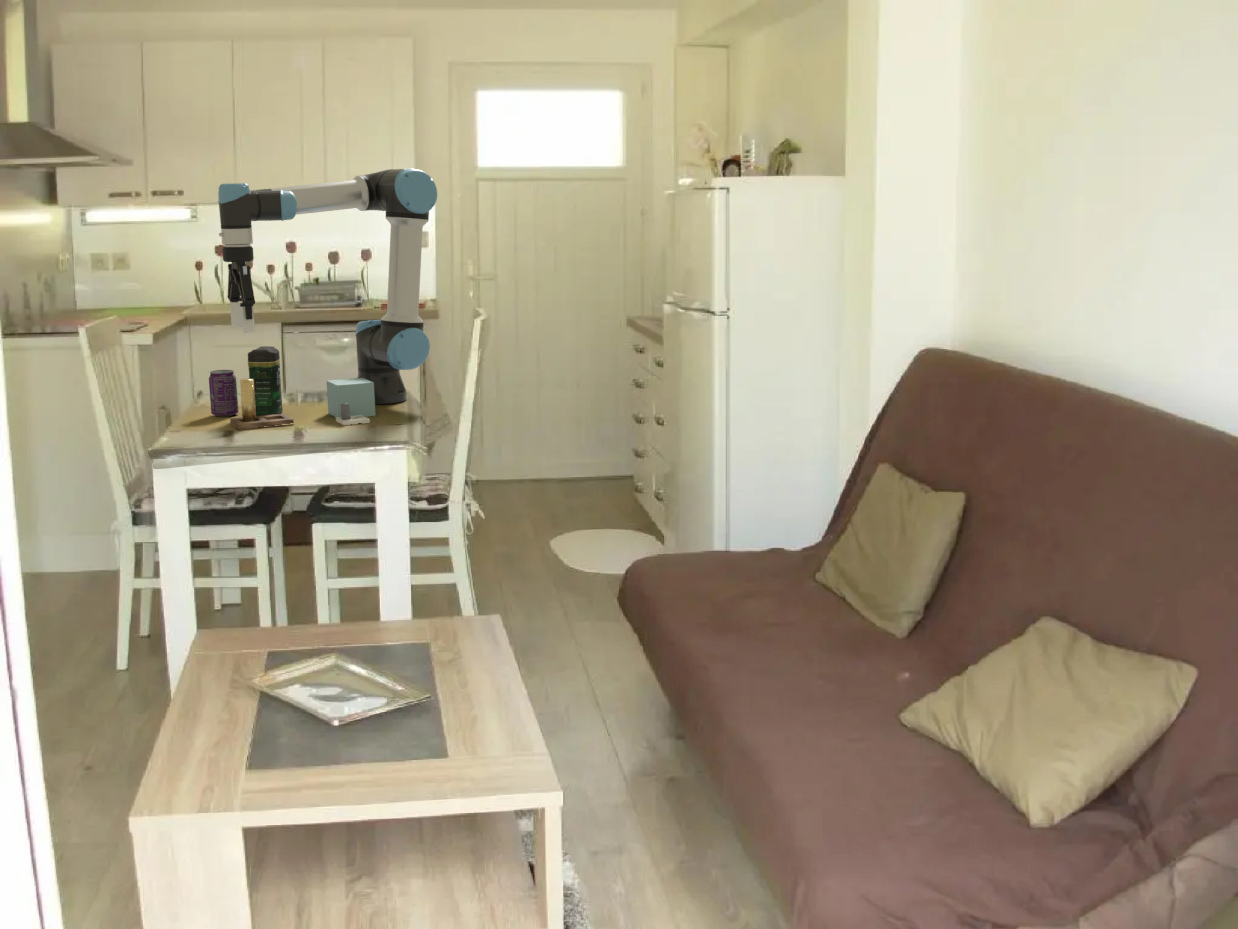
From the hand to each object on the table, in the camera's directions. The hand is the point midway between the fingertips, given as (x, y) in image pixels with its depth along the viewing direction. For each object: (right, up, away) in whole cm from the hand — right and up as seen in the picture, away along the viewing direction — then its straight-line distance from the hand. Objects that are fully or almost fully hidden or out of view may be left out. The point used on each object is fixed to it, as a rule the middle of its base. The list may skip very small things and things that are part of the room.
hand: (243, 329), depth 351 cm
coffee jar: (+1, -21, +20) cm, 29 cm away
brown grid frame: (+3, -24, +7) cm, 25 cm away
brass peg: (0, -24, +5) cm, 25 cm away
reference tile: (+26, -23, +8) cm, 36 cm away
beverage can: (-11, -21, +21) cm, 31 cm away
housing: (+24, -21, +19) cm, 37 cm away
